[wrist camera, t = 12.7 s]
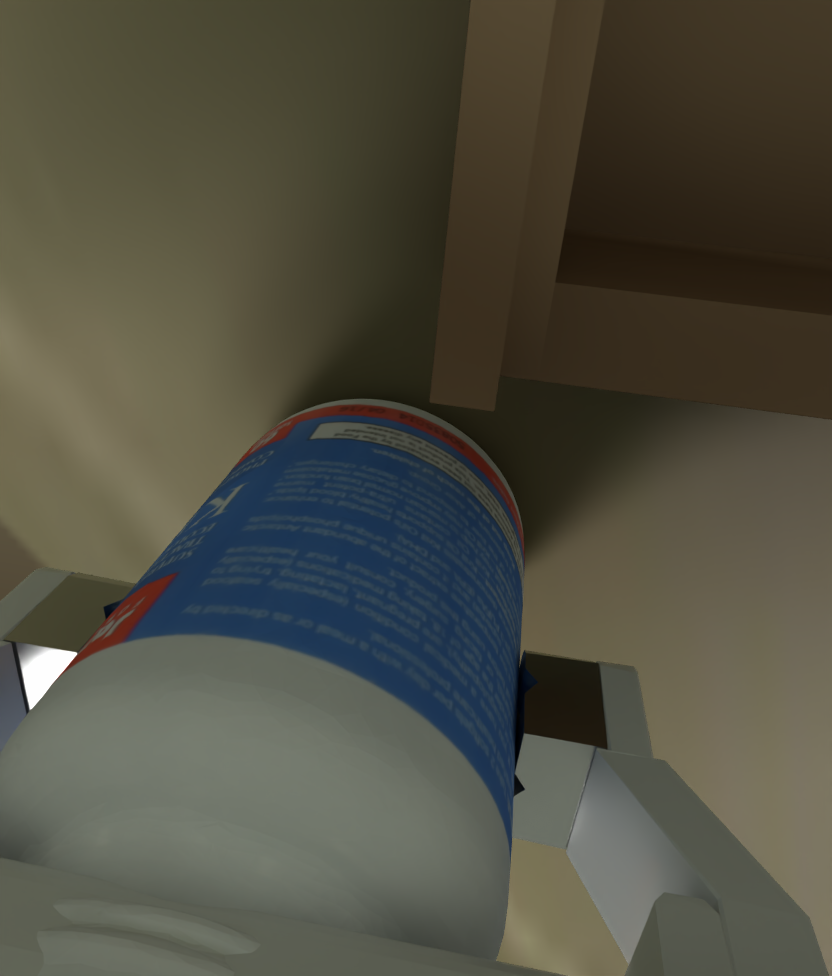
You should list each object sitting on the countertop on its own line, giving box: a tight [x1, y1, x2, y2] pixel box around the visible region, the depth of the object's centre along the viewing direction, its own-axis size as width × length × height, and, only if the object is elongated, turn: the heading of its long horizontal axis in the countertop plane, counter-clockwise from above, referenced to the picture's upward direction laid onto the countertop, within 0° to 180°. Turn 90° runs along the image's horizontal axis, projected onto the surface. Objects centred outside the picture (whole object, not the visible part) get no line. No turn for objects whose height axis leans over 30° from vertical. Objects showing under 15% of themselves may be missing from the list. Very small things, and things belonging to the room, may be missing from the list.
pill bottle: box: [0, 399, 525, 976], centre depth 9 cm, size 6×5×10 cm
